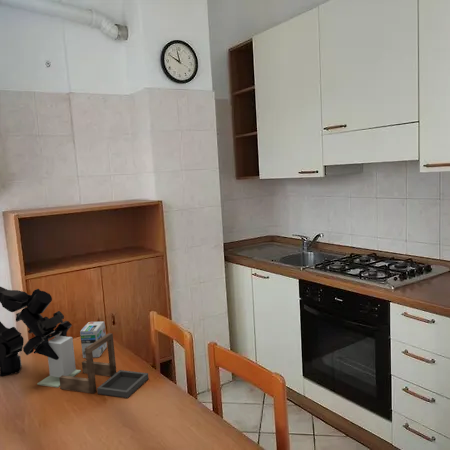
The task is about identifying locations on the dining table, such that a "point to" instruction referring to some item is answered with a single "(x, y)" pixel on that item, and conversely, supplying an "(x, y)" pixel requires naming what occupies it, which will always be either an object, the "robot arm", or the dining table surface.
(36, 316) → the robot arm
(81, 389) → the wooden gate frame
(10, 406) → the dining table surface
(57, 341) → the block
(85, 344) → the light bulb box
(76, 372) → the pad
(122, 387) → the box
